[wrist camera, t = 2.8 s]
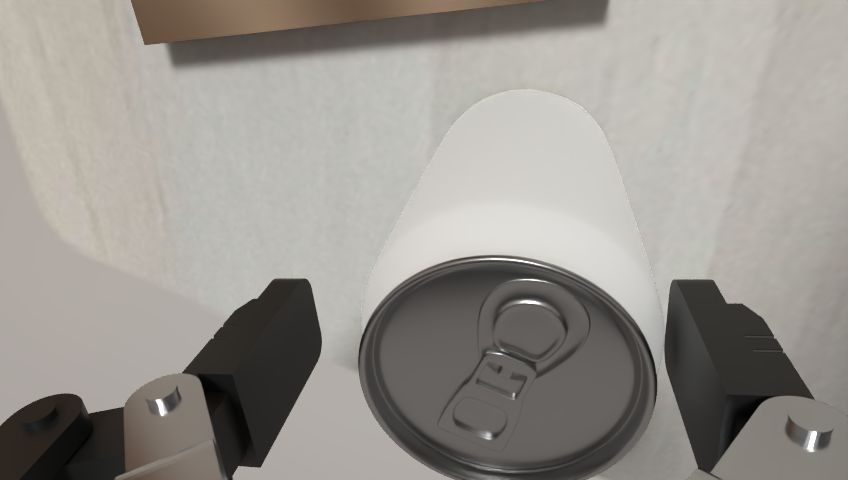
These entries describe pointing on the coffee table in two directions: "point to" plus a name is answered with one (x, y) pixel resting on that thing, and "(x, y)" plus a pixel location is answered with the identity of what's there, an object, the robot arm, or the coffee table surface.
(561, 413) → the can
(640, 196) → the coffee table surface
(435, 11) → the wall board
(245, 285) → the coffee table surface
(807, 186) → the coffee table surface
